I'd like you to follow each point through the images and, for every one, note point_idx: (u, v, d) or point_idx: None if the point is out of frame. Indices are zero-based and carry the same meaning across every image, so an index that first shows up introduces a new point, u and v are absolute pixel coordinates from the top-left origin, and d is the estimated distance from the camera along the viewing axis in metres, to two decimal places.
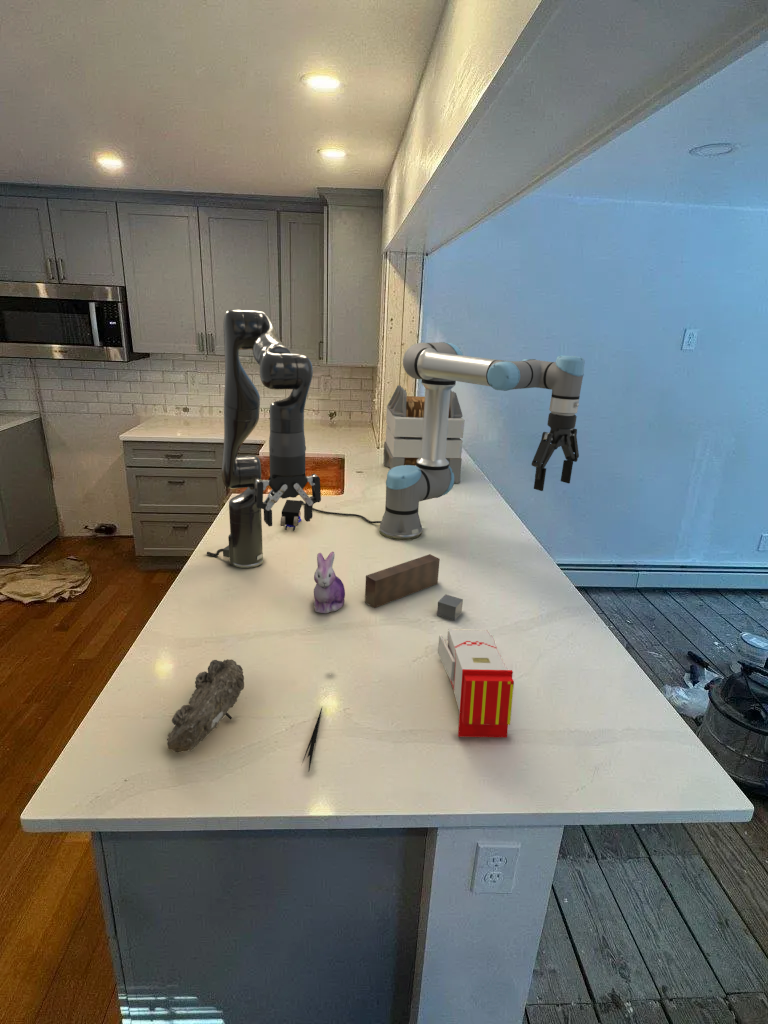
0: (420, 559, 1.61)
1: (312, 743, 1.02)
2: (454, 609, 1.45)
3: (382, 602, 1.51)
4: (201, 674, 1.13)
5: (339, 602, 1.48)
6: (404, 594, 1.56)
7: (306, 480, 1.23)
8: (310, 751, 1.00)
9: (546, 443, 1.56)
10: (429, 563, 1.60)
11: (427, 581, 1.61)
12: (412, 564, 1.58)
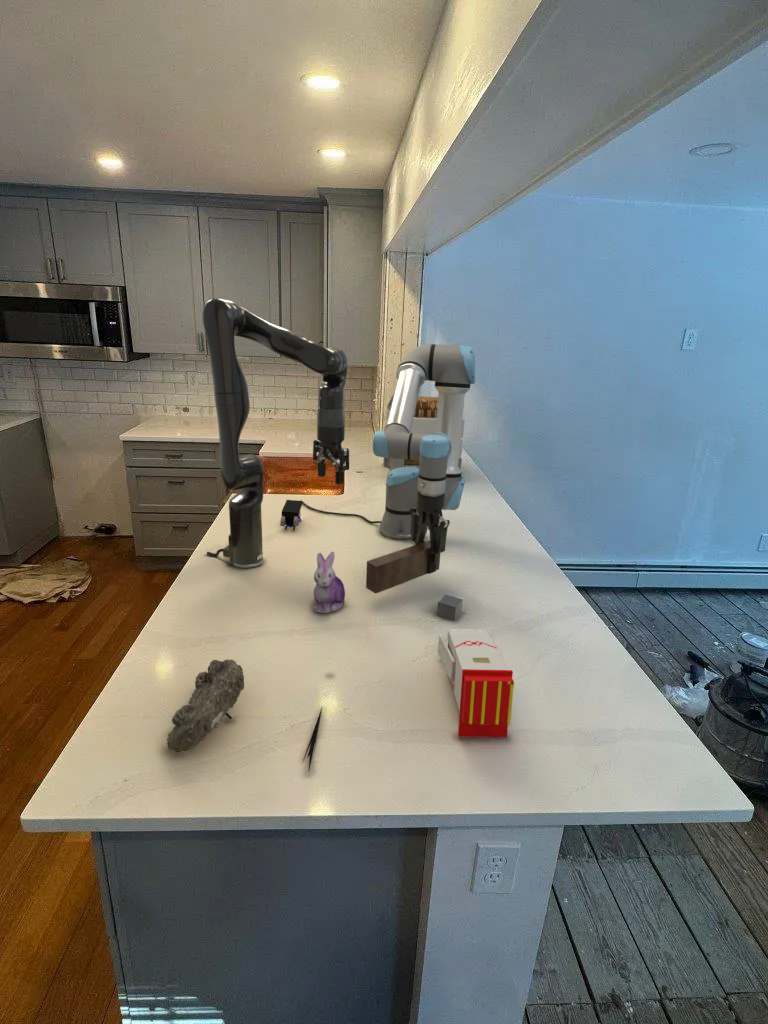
0: (421, 545, 1.60)
1: (312, 743, 1.02)
2: (454, 609, 1.45)
3: (383, 588, 1.50)
4: (201, 674, 1.13)
5: (339, 602, 1.48)
6: (405, 580, 1.55)
7: None
8: (310, 751, 1.00)
9: None
10: None
11: None
12: (413, 549, 1.57)
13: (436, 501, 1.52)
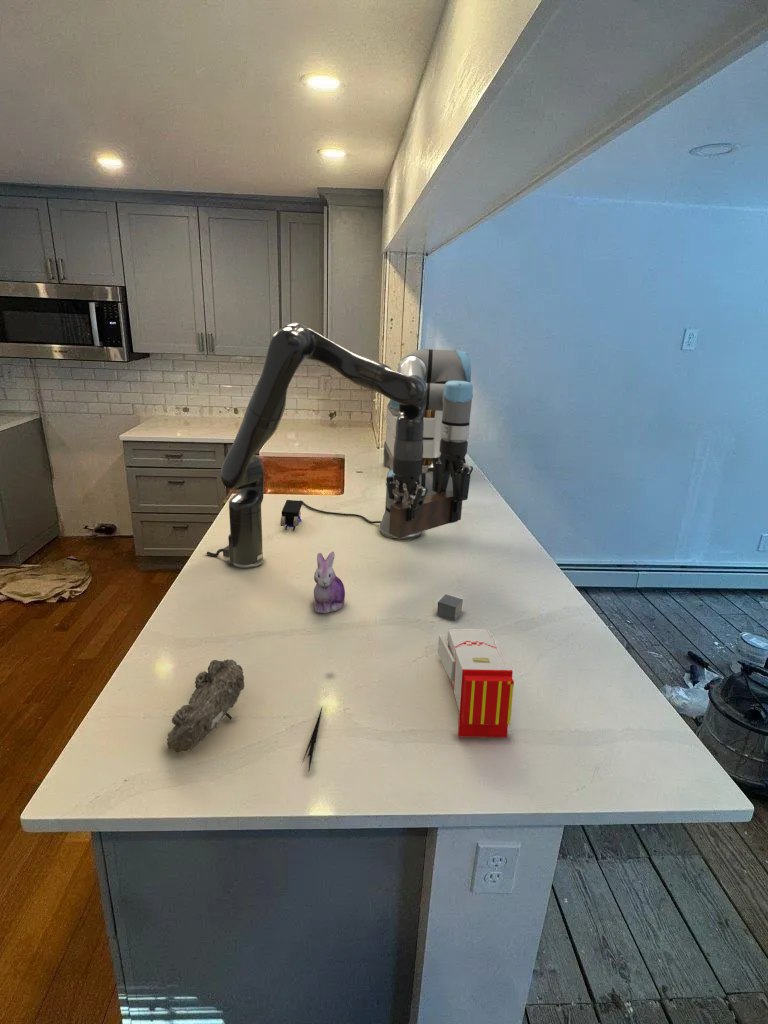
0: (443, 494, 1.59)
1: (312, 743, 1.02)
2: (454, 609, 1.45)
3: (407, 533, 1.50)
4: (201, 674, 1.13)
5: (339, 602, 1.48)
6: (428, 527, 1.55)
7: None
8: (310, 751, 1.00)
9: None
10: None
11: None
12: (436, 497, 1.56)
13: (460, 447, 1.52)
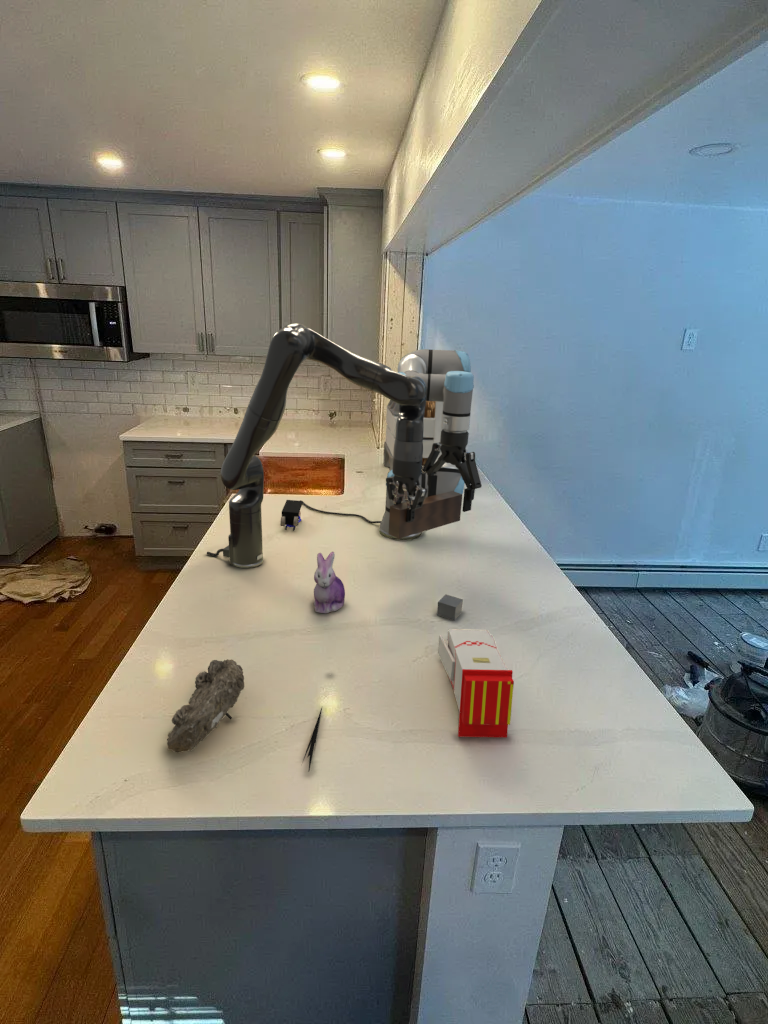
0: (442, 494, 1.60)
1: (312, 743, 1.02)
2: (454, 609, 1.45)
3: (406, 533, 1.50)
4: (201, 674, 1.13)
5: (339, 602, 1.48)
6: (427, 527, 1.55)
7: None
8: (310, 751, 1.00)
9: None
10: (453, 497, 1.58)
11: (450, 517, 1.60)
12: (435, 497, 1.57)
13: (461, 437, 1.51)
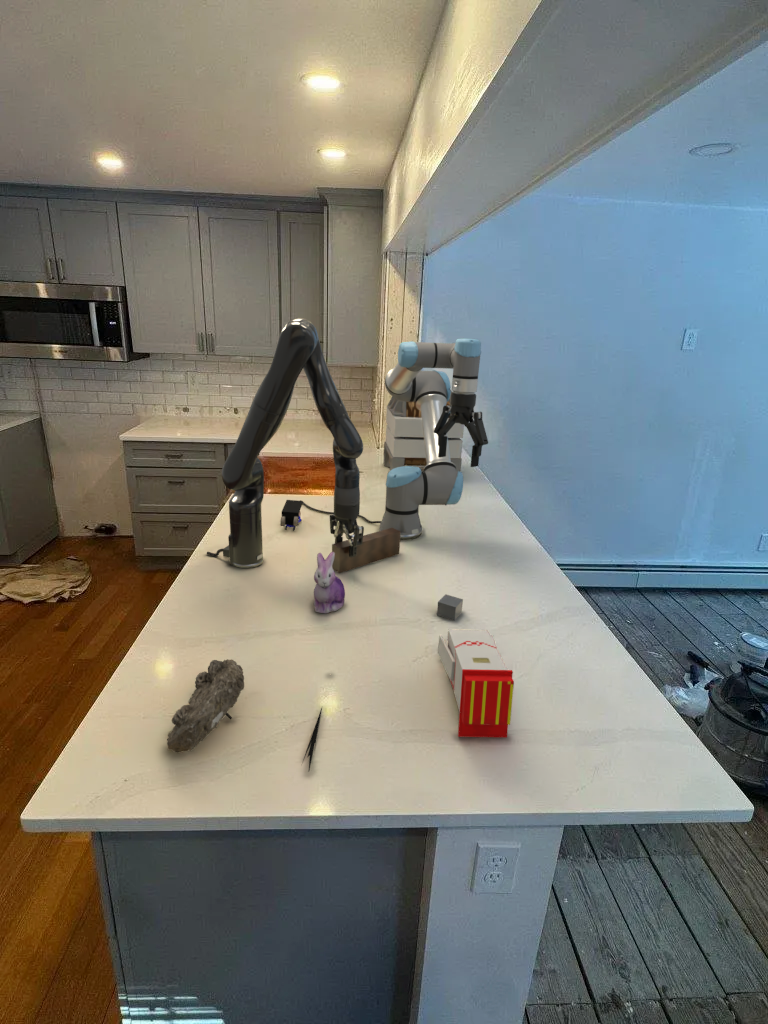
0: (382, 531, 1.80)
1: (312, 743, 1.02)
2: (454, 609, 1.45)
3: (347, 568, 1.70)
4: (201, 674, 1.13)
5: (339, 602, 1.48)
6: (367, 562, 1.75)
7: None
8: (310, 751, 1.00)
9: None
10: (391, 534, 1.78)
11: (389, 551, 1.80)
12: (375, 535, 1.77)
13: (469, 398, 1.67)
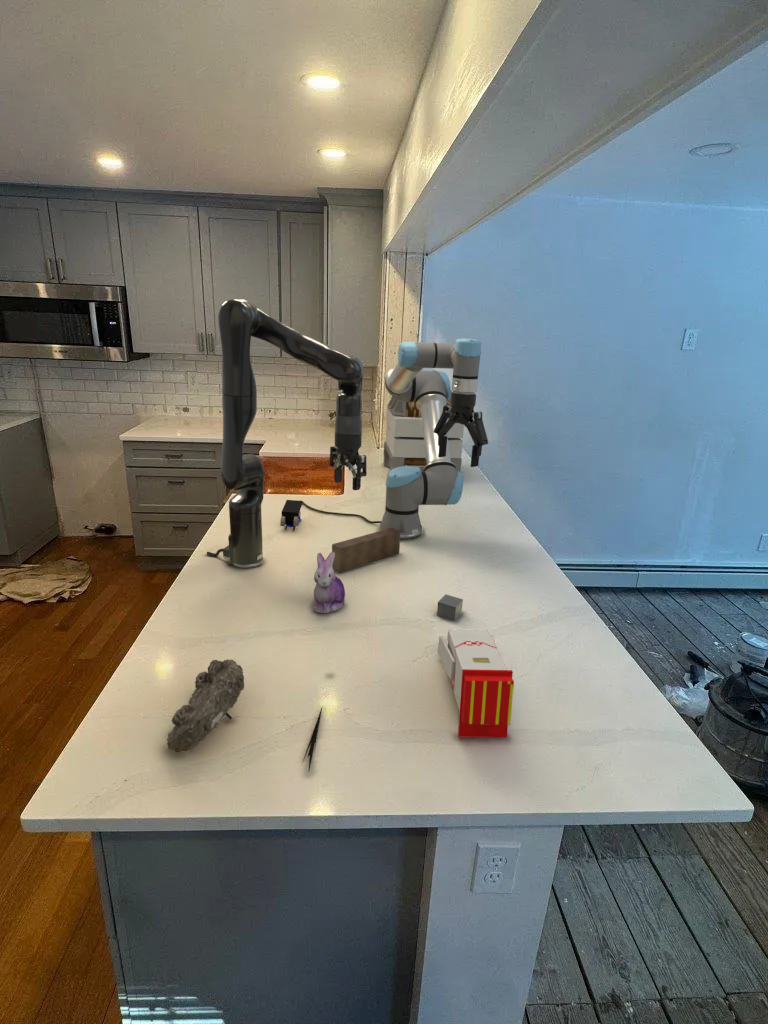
0: (382, 531, 1.80)
1: (312, 743, 1.02)
2: (454, 609, 1.45)
3: (347, 568, 1.70)
4: (201, 674, 1.13)
5: (339, 602, 1.48)
6: (367, 562, 1.75)
7: None
8: (310, 751, 1.00)
9: None
10: (391, 534, 1.78)
11: (389, 551, 1.80)
12: (375, 535, 1.77)
13: (469, 398, 1.67)
